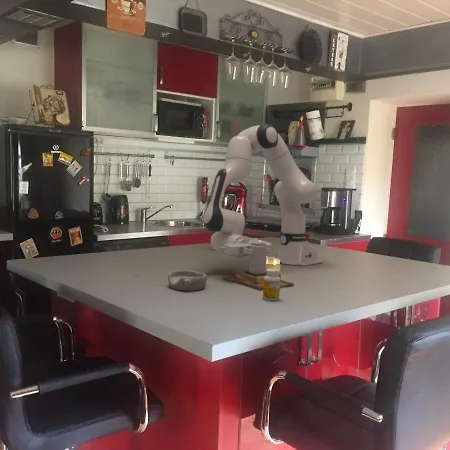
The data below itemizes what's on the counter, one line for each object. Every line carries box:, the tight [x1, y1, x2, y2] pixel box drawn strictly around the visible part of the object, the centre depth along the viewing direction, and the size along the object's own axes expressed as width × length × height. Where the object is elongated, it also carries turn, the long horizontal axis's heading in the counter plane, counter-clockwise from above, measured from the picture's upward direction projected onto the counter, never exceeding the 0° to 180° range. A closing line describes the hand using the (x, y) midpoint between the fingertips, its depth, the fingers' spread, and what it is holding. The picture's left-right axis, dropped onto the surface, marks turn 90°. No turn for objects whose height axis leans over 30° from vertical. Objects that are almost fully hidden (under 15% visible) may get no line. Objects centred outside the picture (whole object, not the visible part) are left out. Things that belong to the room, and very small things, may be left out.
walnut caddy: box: [223, 269, 295, 291], centre depth 193 cm, size 16×22×4 cm
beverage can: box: [248, 241, 268, 275], centre depth 192 cm, size 6×6×12 cm
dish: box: [167, 269, 208, 292], centre depth 181 cm, size 14×14×5 cm
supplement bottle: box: [262, 268, 281, 301], centre depth 168 cm, size 5×5×10 cm
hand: (260, 251), depth 191 cm, fingers closed on beverage can, 5 cm apart
